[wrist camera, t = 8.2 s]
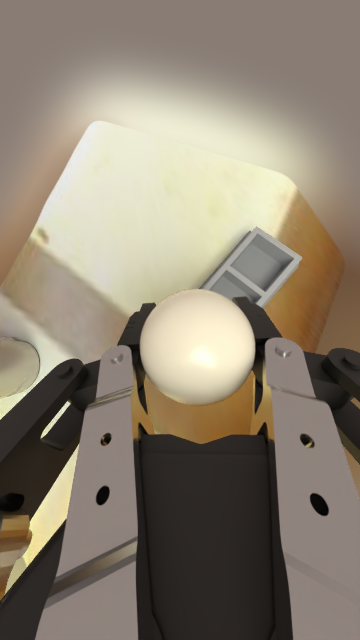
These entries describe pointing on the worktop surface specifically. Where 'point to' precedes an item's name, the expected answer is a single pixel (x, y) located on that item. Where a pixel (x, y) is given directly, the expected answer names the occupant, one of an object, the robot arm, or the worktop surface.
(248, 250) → the grey divided tray
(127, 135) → the worktop surface
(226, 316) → the cream capsule shape
